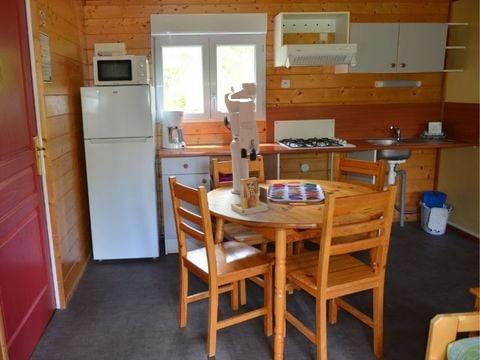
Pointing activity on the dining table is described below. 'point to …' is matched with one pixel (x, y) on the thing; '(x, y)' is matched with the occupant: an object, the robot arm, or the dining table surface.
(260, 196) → the holder
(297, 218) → the dining table surface
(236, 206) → the tray
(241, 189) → the candy box
